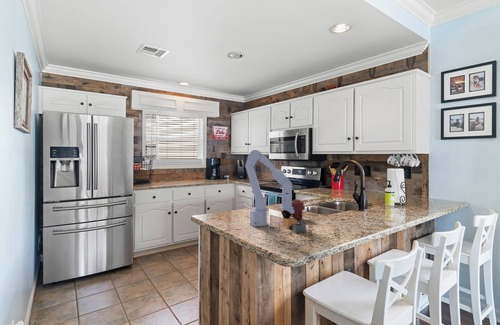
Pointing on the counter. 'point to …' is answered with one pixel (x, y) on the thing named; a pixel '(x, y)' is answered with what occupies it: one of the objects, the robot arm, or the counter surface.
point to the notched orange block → (289, 222)
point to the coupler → (298, 227)
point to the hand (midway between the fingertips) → (286, 223)
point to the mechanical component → (297, 209)
